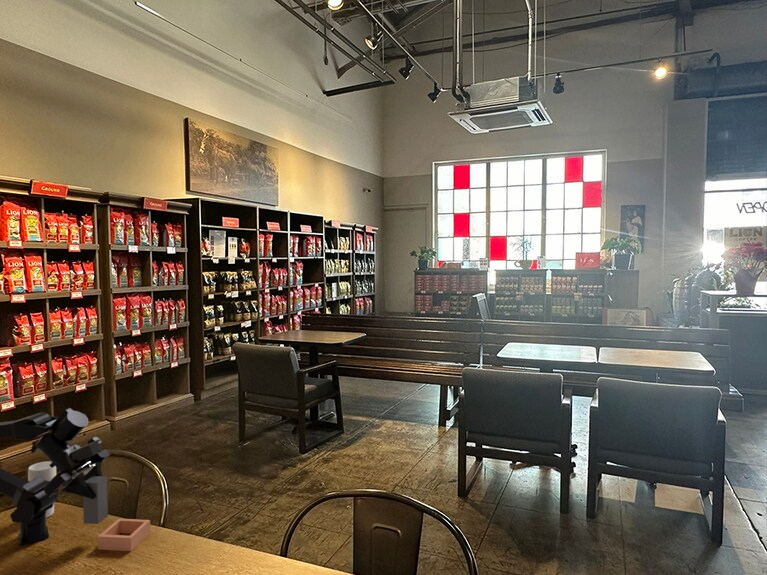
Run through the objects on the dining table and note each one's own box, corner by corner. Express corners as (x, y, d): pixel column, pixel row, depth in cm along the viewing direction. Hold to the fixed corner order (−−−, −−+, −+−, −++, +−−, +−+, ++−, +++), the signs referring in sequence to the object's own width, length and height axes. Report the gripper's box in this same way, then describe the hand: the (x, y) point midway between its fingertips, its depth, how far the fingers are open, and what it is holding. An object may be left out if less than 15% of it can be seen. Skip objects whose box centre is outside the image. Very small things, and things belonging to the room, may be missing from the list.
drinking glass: (42, 523, 140) (41, 471, 139) (22, 520, 141) (21, 469, 140) (62, 511, 146) (61, 462, 146) (43, 508, 148) (42, 460, 147)
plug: (83, 523, 129) (82, 482, 129) (93, 515, 133) (93, 476, 133) (98, 524, 129) (97, 483, 128) (107, 516, 133) (107, 476, 132)
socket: (98, 549, 127) (97, 536, 127) (119, 530, 136) (119, 518, 136) (131, 551, 126) (131, 538, 126) (150, 532, 135) (150, 520, 135)
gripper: (54, 444, 121) (97, 489, 121) (102, 420, 139) (140, 460, 139) (24, 474, 122) (67, 519, 121) (77, 446, 140) (114, 486, 140)
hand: (100, 494), depth 131 cm, fingers closed on plug, 4 cm apart
